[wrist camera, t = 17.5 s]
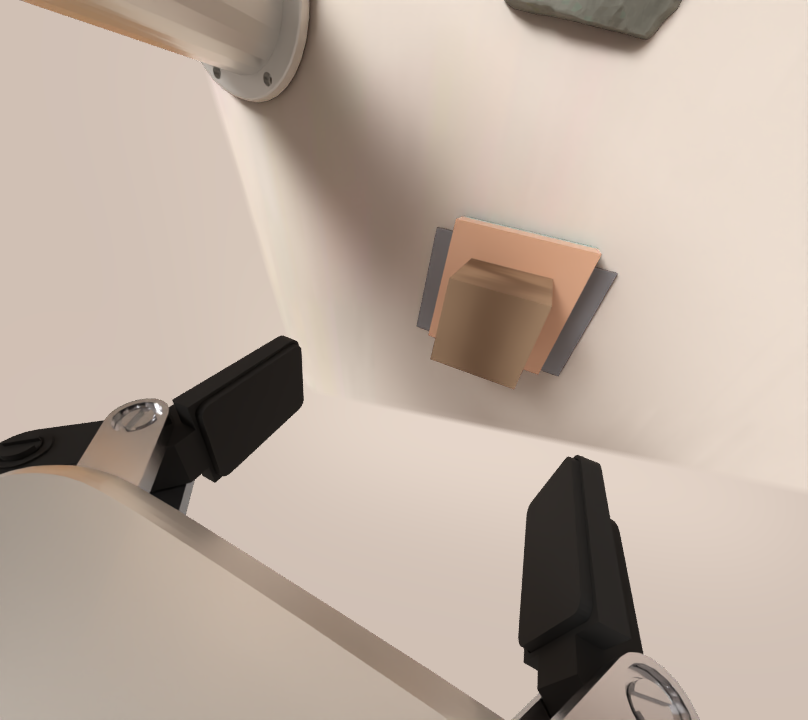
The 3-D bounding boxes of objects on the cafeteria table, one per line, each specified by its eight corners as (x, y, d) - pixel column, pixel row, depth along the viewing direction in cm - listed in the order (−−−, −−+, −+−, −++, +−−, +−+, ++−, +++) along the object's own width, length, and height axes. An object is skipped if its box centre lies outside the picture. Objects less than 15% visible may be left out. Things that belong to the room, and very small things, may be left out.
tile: (464, 215, 24) (436, 325, 29) (455, 218, 22) (428, 335, 27) (597, 247, 21) (539, 361, 27) (601, 254, 19) (538, 374, 25)
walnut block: (453, 327, 26) (430, 359, 21) (471, 258, 23) (449, 278, 18) (522, 349, 24) (514, 389, 20) (552, 278, 21) (551, 306, 16)
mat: (417, 325, 31) (416, 326, 30) (438, 227, 25) (437, 227, 25) (558, 374, 27) (558, 376, 27) (616, 272, 22) (617, 273, 21)
